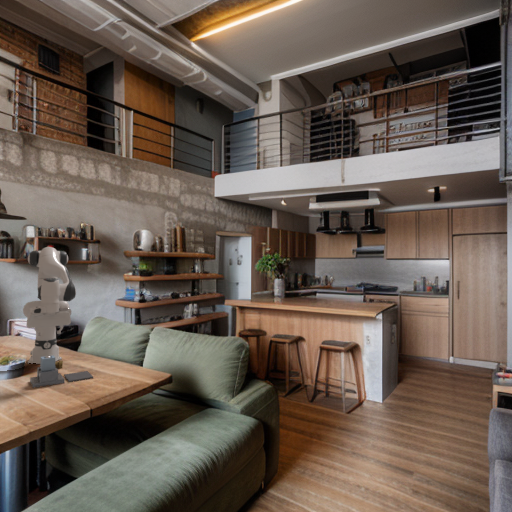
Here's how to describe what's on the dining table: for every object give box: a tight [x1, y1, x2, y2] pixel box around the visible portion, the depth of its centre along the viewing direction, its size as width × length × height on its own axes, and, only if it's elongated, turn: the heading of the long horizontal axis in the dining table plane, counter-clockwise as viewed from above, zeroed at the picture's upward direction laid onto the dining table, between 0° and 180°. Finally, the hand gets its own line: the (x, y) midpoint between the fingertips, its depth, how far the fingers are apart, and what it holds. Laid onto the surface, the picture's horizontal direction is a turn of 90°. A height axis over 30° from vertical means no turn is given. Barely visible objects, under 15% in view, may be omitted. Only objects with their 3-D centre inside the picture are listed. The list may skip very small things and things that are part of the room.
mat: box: [63, 370, 94, 383], centre depth 194 cm, size 14×12×1 cm
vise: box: [29, 356, 66, 389], centre depth 185 cm, size 13×14×14 cm
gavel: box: [55, 360, 64, 369], centre depth 203 cm, size 21×5×10 cm
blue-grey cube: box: [39, 355, 56, 371], centre depth 185 cm, size 6×6×6 cm
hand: (48, 335), depth 186 cm, fingers open, 8 cm apart
